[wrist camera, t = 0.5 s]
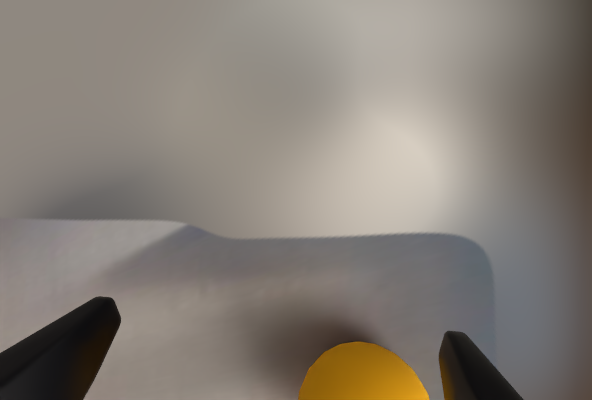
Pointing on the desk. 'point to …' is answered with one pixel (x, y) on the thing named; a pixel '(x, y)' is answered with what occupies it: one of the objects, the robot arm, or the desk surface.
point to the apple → (361, 375)
